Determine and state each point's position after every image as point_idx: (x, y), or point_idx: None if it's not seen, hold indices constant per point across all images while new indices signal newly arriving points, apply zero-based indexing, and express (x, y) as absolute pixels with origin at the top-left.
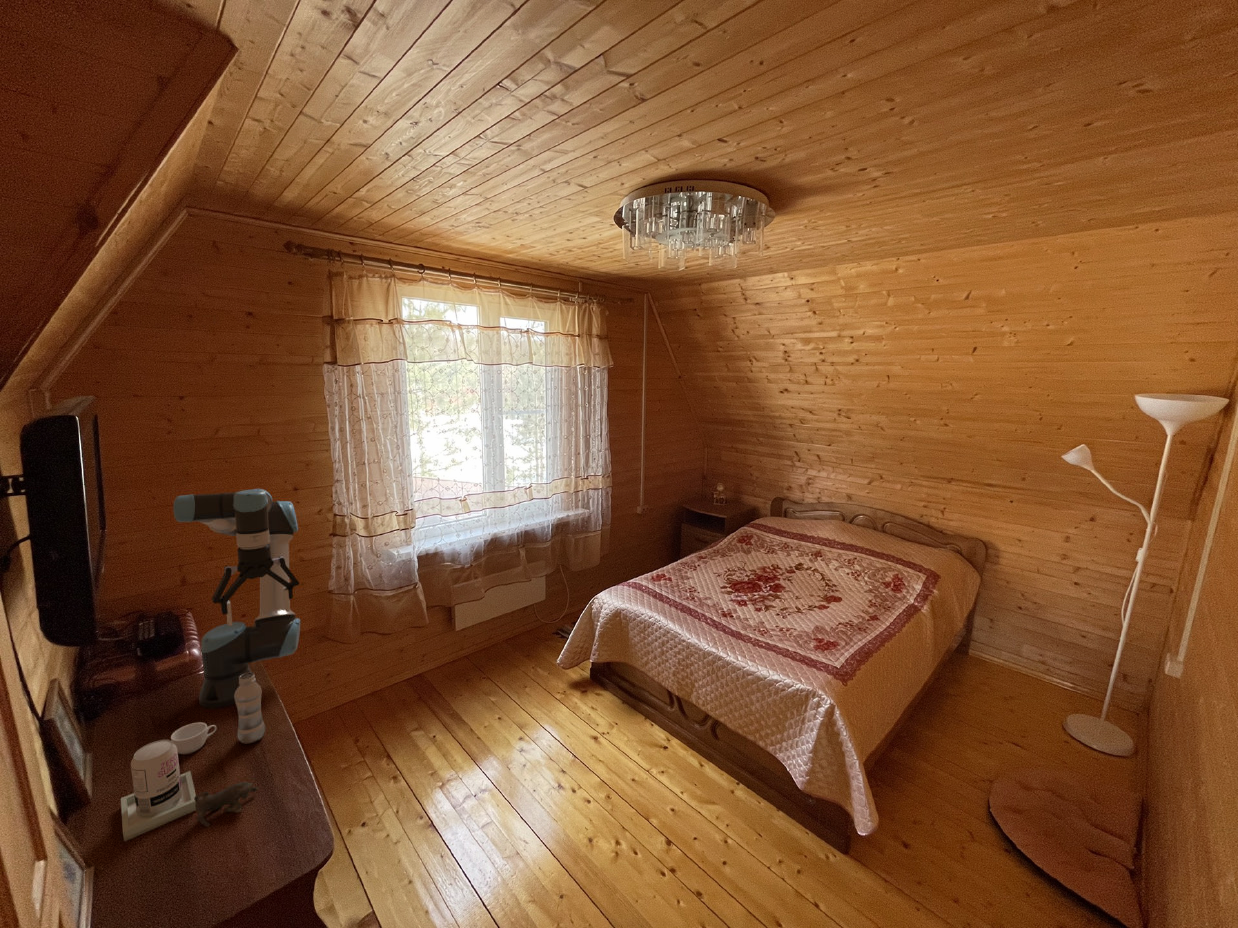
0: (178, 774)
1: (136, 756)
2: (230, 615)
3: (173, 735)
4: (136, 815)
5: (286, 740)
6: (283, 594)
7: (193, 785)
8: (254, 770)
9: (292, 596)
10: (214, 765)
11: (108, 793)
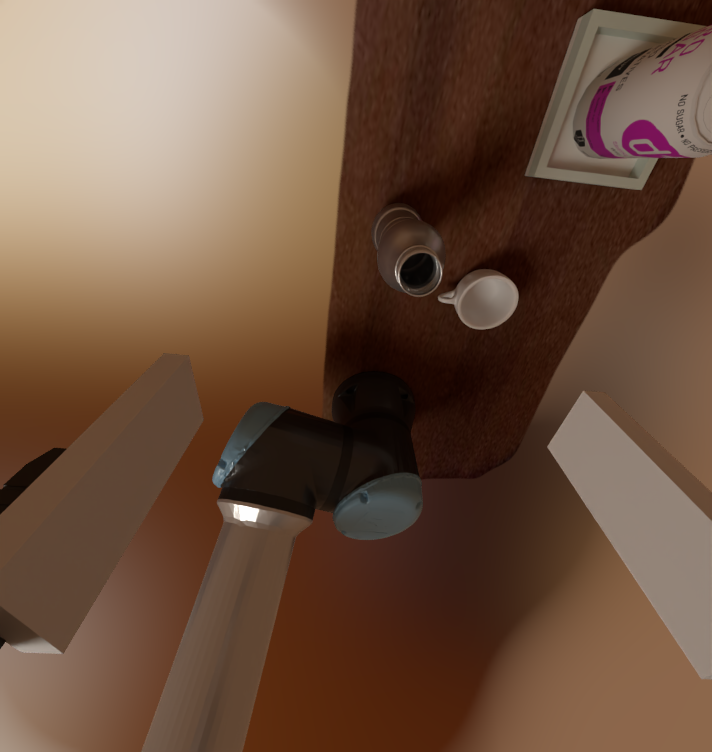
0: (631, 73)
1: None
2: (661, 460)
3: (508, 312)
4: None
5: (347, 157)
6: (124, 544)
7: (561, 100)
8: (438, 81)
9: (24, 470)
10: (477, 190)
11: (607, 257)
